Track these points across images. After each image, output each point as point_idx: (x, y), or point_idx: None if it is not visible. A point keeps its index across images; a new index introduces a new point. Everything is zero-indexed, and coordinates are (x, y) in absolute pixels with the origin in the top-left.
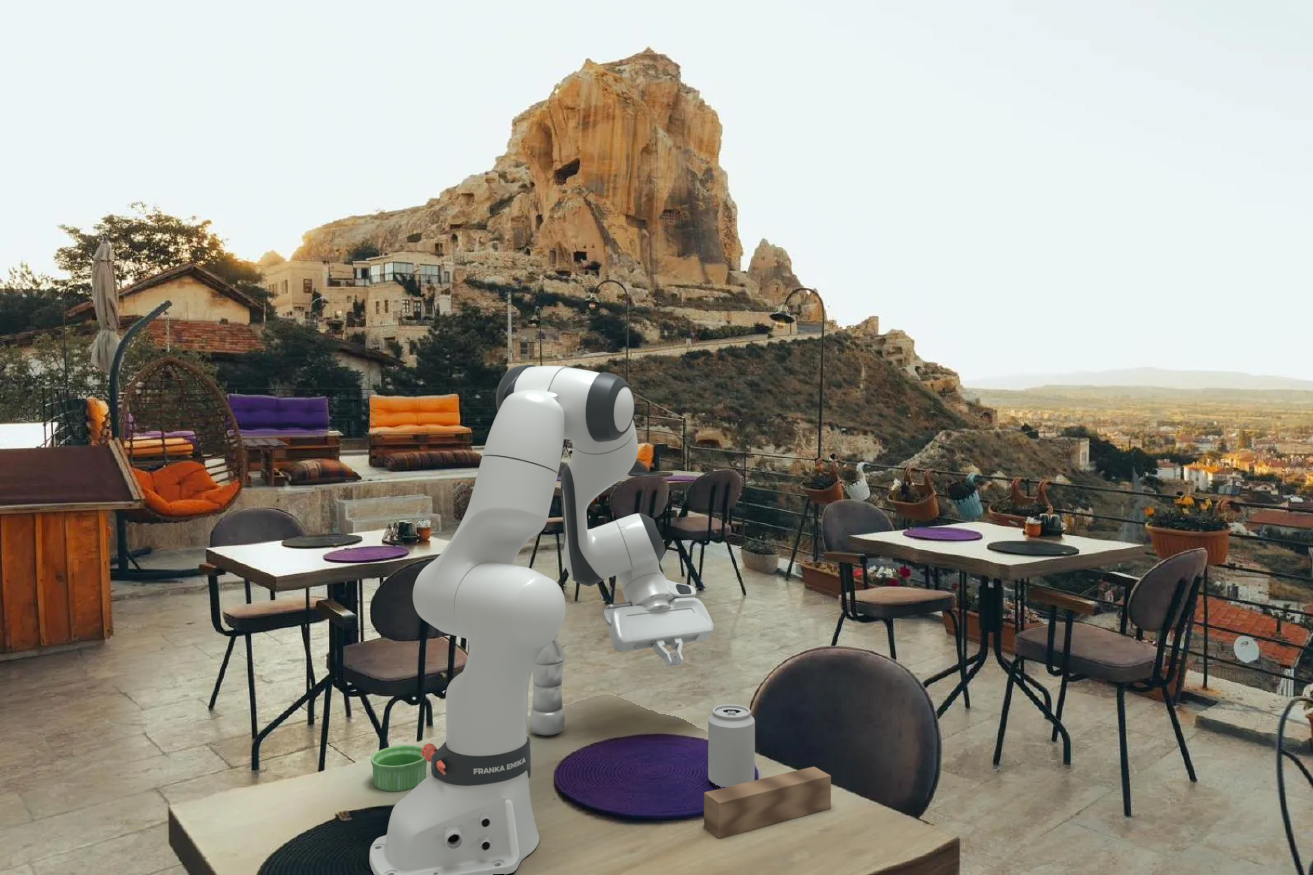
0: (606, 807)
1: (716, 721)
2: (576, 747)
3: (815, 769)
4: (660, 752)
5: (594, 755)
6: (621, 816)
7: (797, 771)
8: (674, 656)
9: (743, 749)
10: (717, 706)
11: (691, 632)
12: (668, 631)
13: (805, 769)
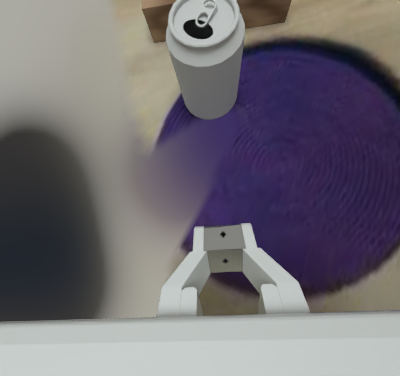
0: (371, 88)
1: (239, 15)
2: (367, 286)
3: (145, 1)
4: (250, 213)
5: (346, 242)
6: (360, 64)
7: (167, 2)
8: (226, 235)
9: (206, 33)
10: (217, 39)
11: (81, 324)
12: (231, 352)
13: (155, 4)
